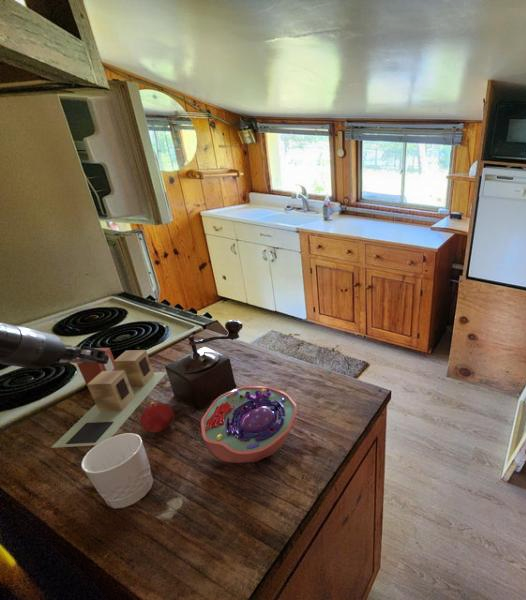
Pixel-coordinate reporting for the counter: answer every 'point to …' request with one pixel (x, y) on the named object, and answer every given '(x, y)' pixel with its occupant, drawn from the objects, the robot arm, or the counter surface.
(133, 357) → the maple letter far
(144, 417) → the red rounded lump
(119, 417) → the word mat
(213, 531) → the counter surface
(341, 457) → the counter surface
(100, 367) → the letter block
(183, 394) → the manual coffee grinder
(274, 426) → the cell model
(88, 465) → the white cup
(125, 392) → the maple letter middle
